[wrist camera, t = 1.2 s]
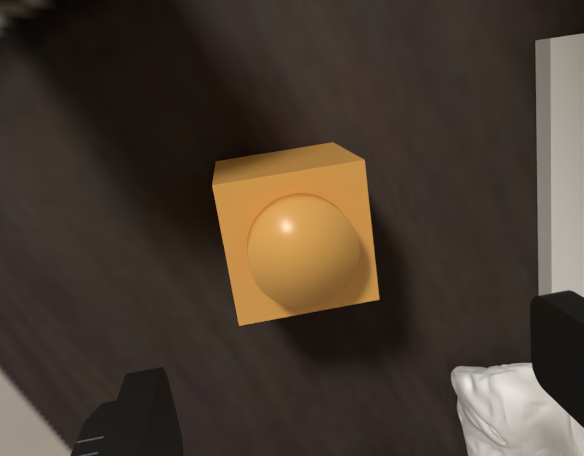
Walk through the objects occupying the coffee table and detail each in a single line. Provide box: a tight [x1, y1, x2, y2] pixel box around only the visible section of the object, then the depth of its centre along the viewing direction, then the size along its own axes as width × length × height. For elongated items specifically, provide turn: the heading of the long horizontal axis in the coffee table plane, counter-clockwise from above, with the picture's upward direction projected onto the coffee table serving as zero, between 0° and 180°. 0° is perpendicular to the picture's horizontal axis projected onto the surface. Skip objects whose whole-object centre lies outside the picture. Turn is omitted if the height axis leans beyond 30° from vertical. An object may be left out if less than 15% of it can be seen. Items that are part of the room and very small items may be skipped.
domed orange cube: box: [212, 142, 379, 326], centre depth 22 cm, size 6×6×7 cm
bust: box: [451, 363, 584, 456], centre depth 26 cm, size 12×8×11 cm
